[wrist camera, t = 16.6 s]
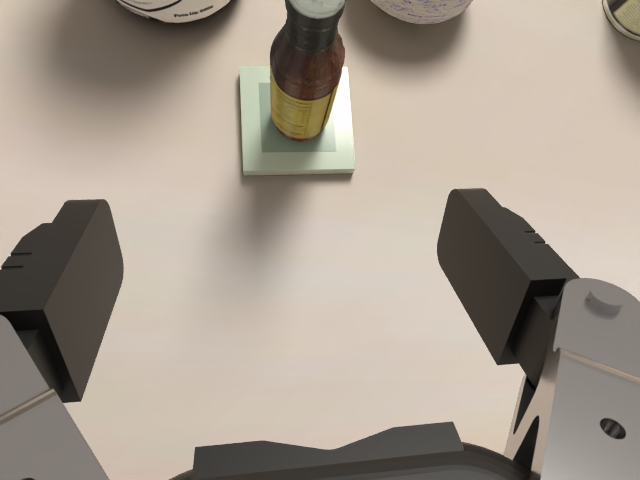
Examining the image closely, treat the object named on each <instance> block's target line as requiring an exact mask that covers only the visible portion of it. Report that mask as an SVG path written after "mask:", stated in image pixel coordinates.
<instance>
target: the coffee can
mask: <svg viewBox="0 0 640 480" xmlns="http://www.w3.org/2000/svg"><path fill="white" fill-rule="evenodd" d="M603 7H604V10H605V13H606V15H607V17H608V19H609V21H610V22H611V23H612V25H613V26H614V27H615V28H616V29H617V30H618V31H619V32H621V33H622V34H624V35H625V36H627V37H629V38H631V39H634V40H638V41H640V0H603Z"/></svg>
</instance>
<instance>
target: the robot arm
mask: <svg viewBox="0 0 640 480" xmlns="http://www.w3.org/2000/svg"><path fill="white" fill-rule="evenodd" d="M437 255H438V260H439V264H440V266H441V268H442V270H443V271H444V273H445V275H446V277H447V278H448V280H449V282H450V284H451V285H452V287H453V289H454V291H455V292H456V294H457V296H458V298H459V299H460V301H461V303H462V304H463V306H464V308H465V310H466V311H467V313H468V315H469V317H470V318H471V320H472V322H473V324H474V325H475V327H476V329H477V331H478V332H479V334H480V336H481V338H482V339H483V341H484V343H485V345H486V346H487V348H488V350H489V352H490V353H491V355H492V357H493V359H494V360H495V362H496V364H497V365H505V364H517V363H519V364H520V366H521V367H522V369H523V370H524V372H525V375H524V377H523V379H522V382H521V385H520V390H519V394H518V398H517V402H516V406H515V411H514V415H513V419H512V423H511V427H510V431H509V436H508V440H507V444H506V448H505V451H504V454H503V455H501V454H499V453H497V452H494V451H492V450H489V449H486V448H484V447H481V446H477V445H473V444H469V443H465V442H461V440H460V438H459V435H458V433H457V430H456V428H455V426H454V423H453V422H444V423H434V424H424V425H414V426H404V427H394V428H391V429H388V430H385V431H383V432H380V433H377V434H375V435H372V436H369V437H367V438H364V439H361V440H359V441H356V442H353V443H351V444H348V445H346V446H343V447H340V448H337V449H333V450H324V449H317V448H310V447H303V446H296V445H289V444H282V443H275V442H269V441H253V442H243V443H233V444H223V445H213V446H203V447H195V454H194V464H193V469H192V470H189V471H187V472H184V473H182V474H180V475H178V476H176V477H174V478H171V479H169V480H640V302H639V301H638V300H637V299H636V298H635V297H634V296H632V295H631V294H630V293H628V292H627V291H625V290H623V289H621V288H620V287H618V286H615V285H613V284H611V283H608V282H605V281H601V280H597V279H590V278H580V277H579V276H578V275H577V274H576V273H575V272H574V271H573V270H572V269H571V268H570V267H569V266H568V265H567V264H566V263H565V262H564V261H563V260H562V258H561V257H560V256H559V255H558V254H557V253H556V252H555V251H554V250H553V249H552V248H551V247H550V246H549V245H548V244H545V241H544V240H543V238H542V237H541V236H540V235H539V234H538V233H535V230H534V229H533V228H532V227H531V226H530V225H529V224H528V223H527V222H526V221H525V220H524V218H522V217H520V216H519V215H517V214H515V213H514V212H512V211H510V210H509V209H507V208H505V207H502V206H501V205H500V204H499V203H498V202H497V201H496V200H495V199H494V198H493V197H492V195H491V194H490V193H489V192H488V191H487V190H486V189H483V188H477V189H454V190H452V191H451V192H450V194H449V196H448V199H447V204H446V208H445V212H444V217H443V221H442V225H441V230H440V234H439V238H438V243H437ZM1 267H2V270H0V480H109V478H108V476H107V475H106V473H105V472H104V470H103V468H102V467H101V465H100V463H99V462H98V460H97V458H96V457H95V455H94V454H93V452H92V450H91V449H90V447H89V445H88V444H87V442H86V440H85V439H84V437H83V436H82V434H81V432H80V431H79V429H78V427H77V426H76V424H75V422H74V421H73V419H72V418H71V416H70V414H69V413H68V411H67V409H66V408H65V406H64V404H63V403H68V402H80V401H81V400H82V397H83V394H84V391H85V388H86V385H87V383H88V380H89V377H90V374H91V371H92V368H93V365H94V362H95V359H96V357H97V354H98V351H99V348H100V345H101V342H102V339H103V336H104V333H105V330H106V328H107V325H108V322H109V319H110V316H111V313H112V310H113V307H114V304H115V302H116V299H117V296H118V293H119V290H120V287H121V284H122V280H123V258H122V253H121V249H120V245H119V241H118V237H117V233H116V230H115V226H114V222H113V218H112V214H111V210H110V207H109V204H108V202H107V201H106V200H104V199H96V200H68V201H66V202H65V203H64V205H63V207H62V208H61V210H60V211H59V213H58V214H57V216H56V217H55V219H54V220H53V222H52V223H42V224H41V225H39V226H38V227H37V228H35V229H34V230H32V231H31V232H29V233H28V234H26V235H25V236H24V237H22V238H21V240H20V241H19V243H18V244H17V245H16V247H15V248H14V250H13V251H12V252H11V256H9V257H8V258H7V259H6V261H5V262H4V264H3V265H2V266H1Z"/></svg>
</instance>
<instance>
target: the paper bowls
mask: <svg viewBox="0 0 640 480" xmlns="http://www.w3.org/2000/svg"><path fill="white" fill-rule="evenodd" d="M371 1H372V3H374V4H375V5H376V6H378V7H379V8H380V9H382V10H383V11H384V12H386V13H387V14H389V15H391V16H393V17H397V18H398V19H400V20H403V21H407V22H410V23H415V24H434V23H440V22H444V21H445V20H449V19H451V18H454V17H456V16H457V15H459V14H460V13H461V12H463V11H464V10H465V9H466V8H467V7H468V6H469V5H470V3H471V2H472V1H473V0H371Z"/></svg>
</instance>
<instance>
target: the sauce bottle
mask: <svg viewBox="0 0 640 480" xmlns="http://www.w3.org/2000/svg"><path fill="white" fill-rule="evenodd" d="M345 2H346V0H285V4H286V9H287V20H286V24H285V25H284V26H283V28H282V29H281V30H280V32H279V33H278V34H277V36H276V37H275V39H274V41H273V43H272V46H271V51H270V100H271V116H272V119H273V121H274V123H275V126H276V128H277V130H278V131H279V132H280V133H281V134H282V135H284V136H285V137H287V138H289V139H292V140H295V141H298V142H303V141H308V140H310V139H312V138H315V137H316V136H318V135H319V134H321V132H322V131H323V129H324V127H325V126H326V124H327V122H328V120H329V117H330V114H331V110H332V107H333V103H334V100H335V96H336V93H337V89H338V86H339V82H340V79H341V75H342V67H343V64H344V58H345V48H344V46H343V43H342V38H341V36H340V35H339V34H338V28H337V25H338V21H339V19H340V17H341V16H342V13H343V11H344V8H345Z"/></svg>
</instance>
